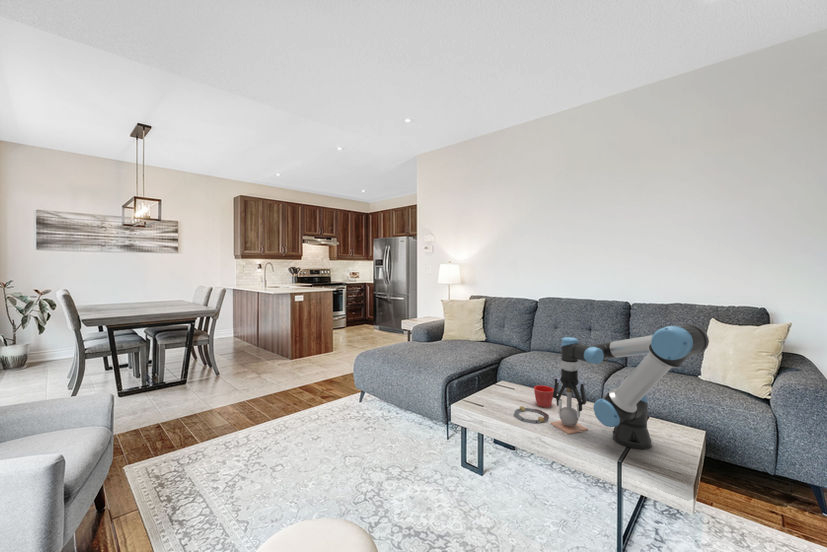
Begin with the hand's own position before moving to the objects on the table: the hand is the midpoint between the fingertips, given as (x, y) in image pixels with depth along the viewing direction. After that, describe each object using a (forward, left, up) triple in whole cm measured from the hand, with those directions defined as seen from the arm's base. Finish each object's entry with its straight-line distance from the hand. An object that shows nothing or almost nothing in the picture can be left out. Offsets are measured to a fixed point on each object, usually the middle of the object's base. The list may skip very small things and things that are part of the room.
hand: (569, 414), depth 174 cm
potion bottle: (0, 0, -4) cm, 4 cm away
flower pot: (+27, -8, -6) cm, 29 cm away
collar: (+17, +9, -6) cm, 20 cm away
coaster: (0, 0, -6) cm, 6 cm away
